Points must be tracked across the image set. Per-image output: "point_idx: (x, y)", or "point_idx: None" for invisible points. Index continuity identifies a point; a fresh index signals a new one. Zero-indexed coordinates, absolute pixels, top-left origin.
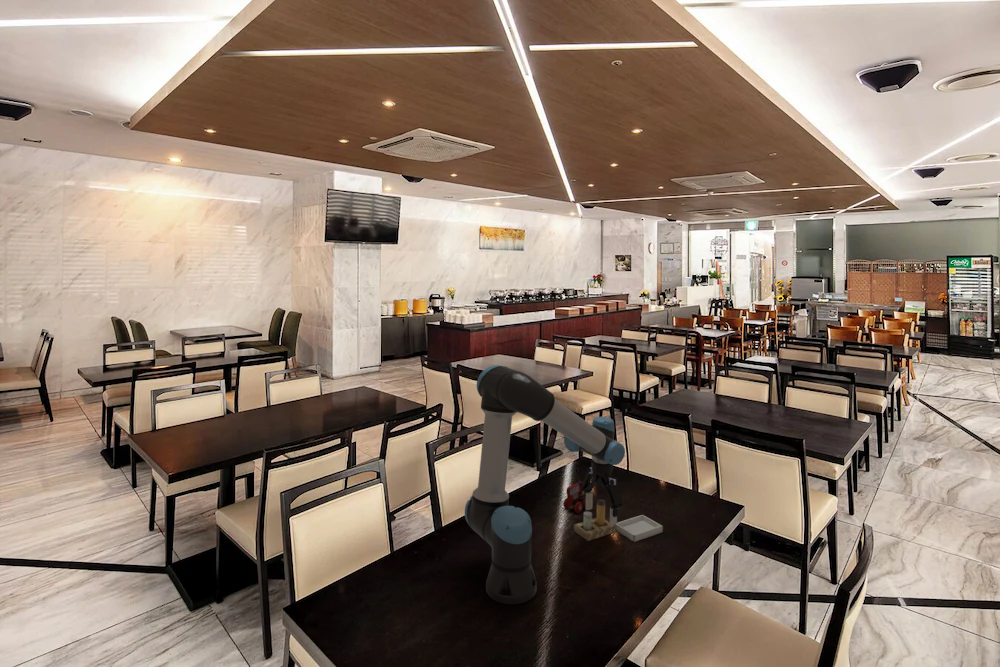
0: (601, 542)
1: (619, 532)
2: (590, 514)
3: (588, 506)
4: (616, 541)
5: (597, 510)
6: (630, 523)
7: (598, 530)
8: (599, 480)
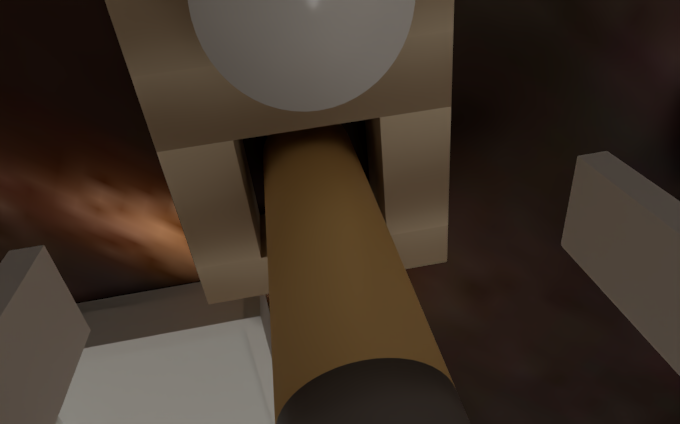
0: (17, 9)
1: (187, 287)
2: (225, 33)
3: (606, 212)
4: (23, 187)
5: (346, 263)
6: None
7: (144, 71)
8: None
